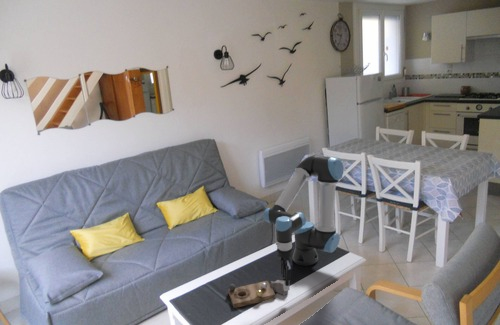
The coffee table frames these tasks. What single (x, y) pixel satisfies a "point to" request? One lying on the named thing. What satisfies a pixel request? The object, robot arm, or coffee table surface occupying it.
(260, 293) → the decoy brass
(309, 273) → the coffee table surface
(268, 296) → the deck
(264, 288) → the ball
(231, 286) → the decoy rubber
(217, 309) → the coffee table surface
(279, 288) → the stone
